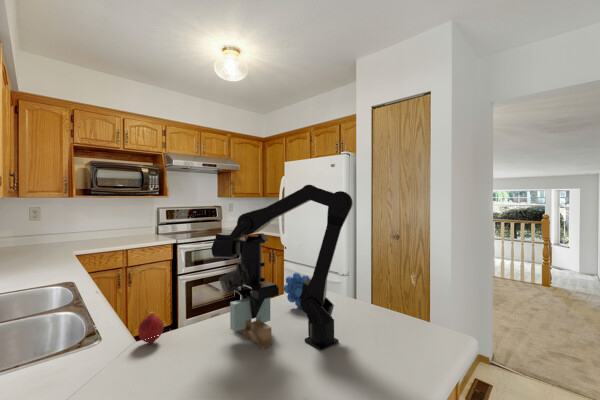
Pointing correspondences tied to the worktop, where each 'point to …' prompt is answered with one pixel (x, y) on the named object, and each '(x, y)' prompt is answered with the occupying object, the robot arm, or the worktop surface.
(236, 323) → the cross plate
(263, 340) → the slot rail
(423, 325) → the worktop surface
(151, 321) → the onion
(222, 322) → the worktop surface
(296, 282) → the grapes
